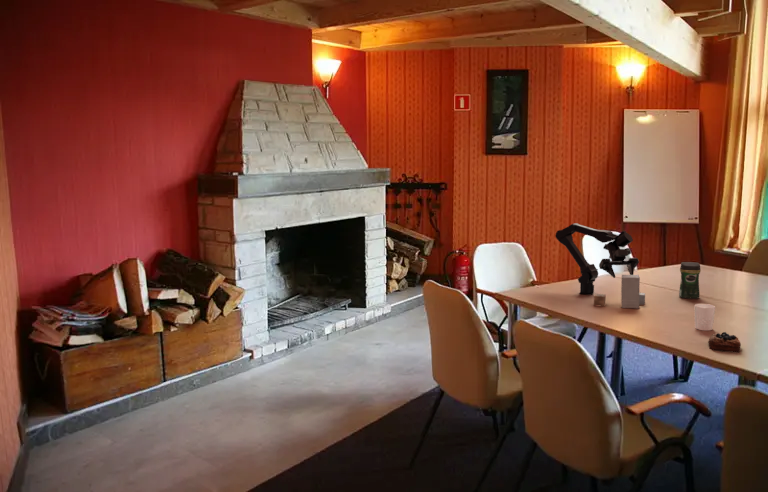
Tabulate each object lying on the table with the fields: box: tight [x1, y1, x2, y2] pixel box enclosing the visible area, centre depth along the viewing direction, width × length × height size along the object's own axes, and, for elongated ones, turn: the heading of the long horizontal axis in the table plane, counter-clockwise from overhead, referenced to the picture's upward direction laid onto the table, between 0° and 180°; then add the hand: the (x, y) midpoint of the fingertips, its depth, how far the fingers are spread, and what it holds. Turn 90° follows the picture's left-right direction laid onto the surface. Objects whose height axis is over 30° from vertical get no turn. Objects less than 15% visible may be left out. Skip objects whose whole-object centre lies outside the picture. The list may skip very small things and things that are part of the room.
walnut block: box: [593, 293, 606, 307], centre depth 312 cm, size 5×5×5 cm
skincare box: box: [620, 274, 641, 309], centre depth 306 cm, size 8×7×16 cm
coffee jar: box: [678, 261, 702, 300], centre depth 323 cm, size 10×8×19 cm
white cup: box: [693, 303, 716, 332], centre depth 267 cm, size 8×8×10 cm
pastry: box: [707, 331, 742, 353], centre depth 242 cm, size 11×12×6 cm
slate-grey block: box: [639, 292, 646, 306], centre depth 314 cm, size 5×5×5 cm
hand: (623, 277), depth 313 cm, fingers open, 9 cm apart
